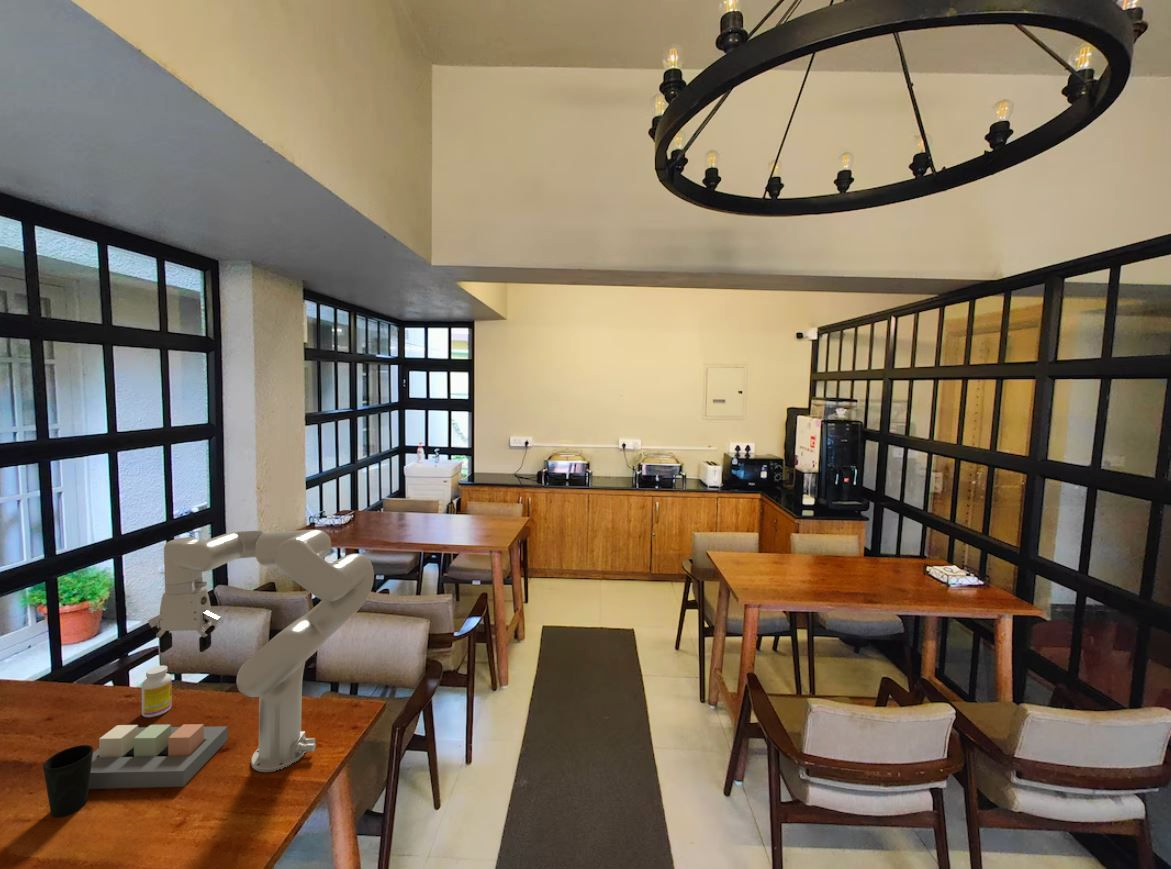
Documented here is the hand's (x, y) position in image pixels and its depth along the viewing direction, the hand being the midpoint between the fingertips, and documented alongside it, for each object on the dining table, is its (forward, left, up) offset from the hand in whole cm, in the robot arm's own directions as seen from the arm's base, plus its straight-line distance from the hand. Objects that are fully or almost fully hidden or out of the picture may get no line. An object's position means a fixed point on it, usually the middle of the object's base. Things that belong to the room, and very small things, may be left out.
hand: (185, 649), depth 124 cm
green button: (+5, +4, -24) cm, 25 cm away
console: (+5, +4, -28) cm, 29 cm away
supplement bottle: (+20, -17, -28) cm, 39 cm away
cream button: (+13, +4, -24) cm, 28 cm away
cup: (+13, +17, -28) cm, 35 cm away
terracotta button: (-3, +4, -24) cm, 25 cm away
